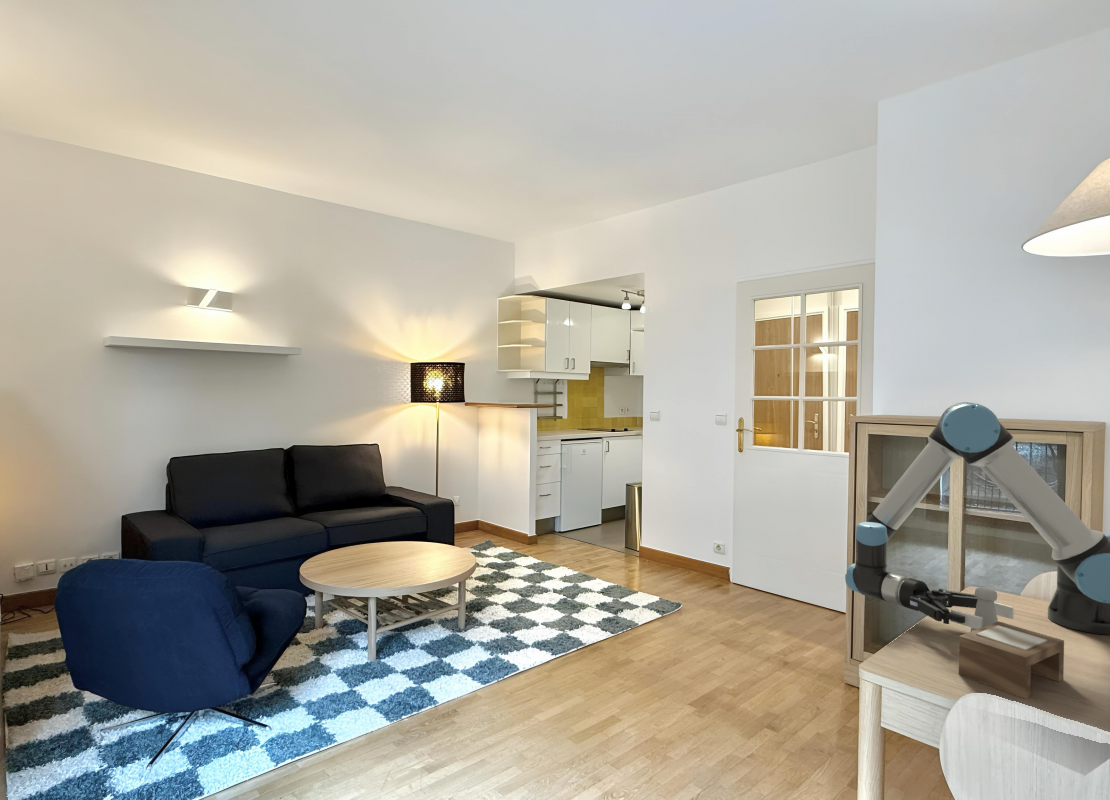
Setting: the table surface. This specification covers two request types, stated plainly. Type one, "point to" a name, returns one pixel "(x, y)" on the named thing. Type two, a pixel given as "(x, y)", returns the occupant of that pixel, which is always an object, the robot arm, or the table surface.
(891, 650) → the table surface
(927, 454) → the robot arm
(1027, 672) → the walnut shelf
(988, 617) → the salt shaker
